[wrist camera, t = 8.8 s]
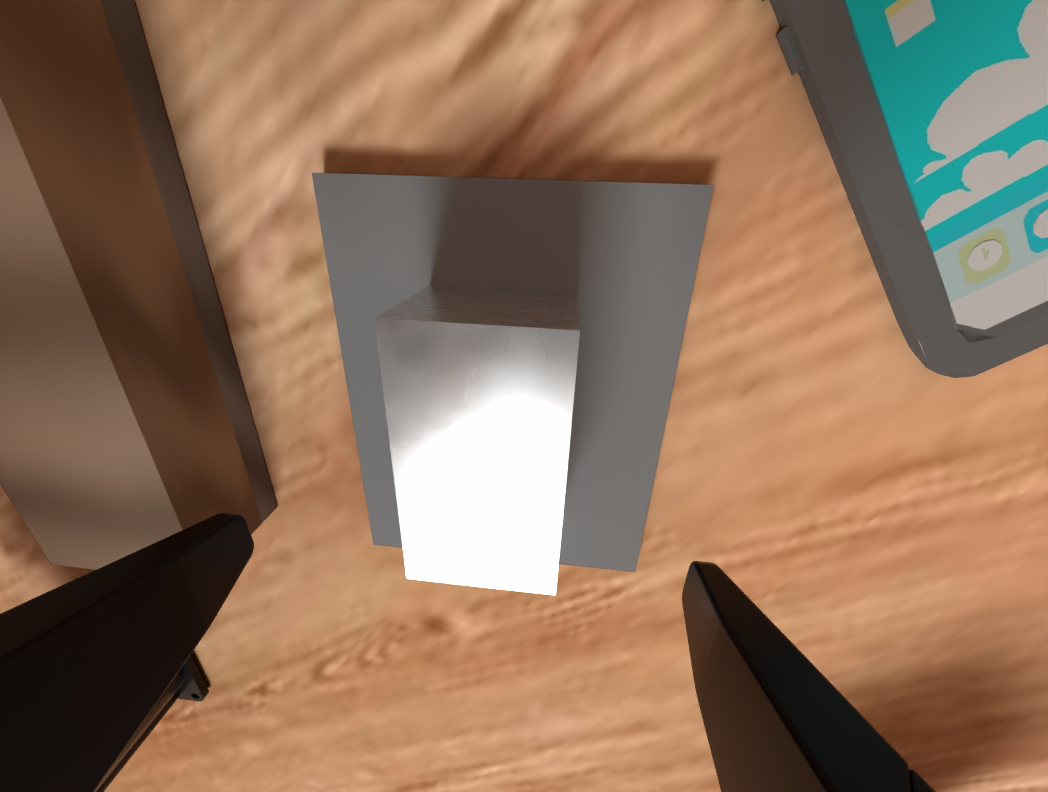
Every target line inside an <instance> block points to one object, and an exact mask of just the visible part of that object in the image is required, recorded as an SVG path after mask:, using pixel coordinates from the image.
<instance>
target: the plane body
mask: <svg viewBox="0 0 1048 792" xmlns="http://www.w3.org/2000/svg"><path fill="white" fill-rule="evenodd" d="M0 485H1V486H2V488H3V489H4V491H5V492H6V494H7V496H8V497H9V499H10V500H11V502H12V504H13V505H14V507H15V508H16V510H17V512H18V513H19V515H20V516H21V518H22V520H23V521H24V523H25V524H26V526H27V527H28V529H29V531H30V532H31V534H32V535H33V537H34V539H35V540H36V542H37V543H38V545H39V547H40V548H41V550H42V551H43V553H44V555H45V556H46V558H47V559H48V561H49V562H50V564H51V565H60V566H69V567H77V568H86V569H94V570H97V569H99V568H101V567H103V566H105V565H108V564H110V563H112V562H114V561H116V560H119V559H121V558H123V557H125V556H127V555H129V554H132V553H134V552H136V551H138V550H140V549H142V548H145V547H147V546H149V545H151V544H153V543H155V542H158V541H160V540H162V539H164V538H166V537H169V536H171V535H173V534H175V533H177V532H179V531H182V530H184V529H186V528H188V527H190V526H192V525H195V524H197V523H199V522H201V521H203V520H206V519H208V518H210V517H212V516H214V515H216V514H219V513H224V512H226V513H236V514H241V515H243V516H244V517H245V518H246V521H247V524H248V527H249V530H250V533H251V534H252V533H253V532H254V531H255V530H256V529H257V528H258V527H259V526H260V525H261V524H262V522H263V521H264V520H265V519H266V518H267V517H268V516H269V515H270V514H271V513H272V512H273V511H274V510H275V509H276V508H277V507H278V506H277V503H276V499H275V496H274V492H273V489H272V485H271V482H270V478H269V475H268V471H267V468H266V464H265V461H264V457H263V454H262V450H261V447H260V443H259V439H258V436H257V432H256V429H255V425H254V422H253V418H252V415H251V411H250V408H249V404H248V401H247V397H246V394H245V390H244V387H243V383H242V379H241V376H240V372H239V369H238V365H237V362H236V358H235V355H234V351H233V348H232V344H231V341H230V337H229V334H228V330H227V327H226V323H225V320H224V316H223V312H222V309H221V305H220V302H219V298H218V295H217V291H216V288H215V284H214V281H213V277H212V274H211V270H210V267H209V263H208V260H207V256H206V252H205V249H204V245H203V242H202V238H201V235H200V231H199V228H198V224H197V221H196V217H195V214H194V210H193V207H192V203H191V200H190V196H189V193H188V189H187V185H186V182H185V178H184V175H183V171H182V168H181V164H180V161H179V157H178V154H177V150H176V147H175V143H174V140H173V136H172V133H171V129H170V125H169V122H168V118H167V115H166V111H165V108H164V104H163V101H162V97H161V94H160V90H159V87H158V83H157V80H156V76H155V73H154V69H153V66H152V62H151V58H150V55H149V51H148V48H147V44H146V41H145V37H144V34H143V30H142V27H141V23H140V20H139V16H138V13H137V9H136V6H135V2H134V0H0Z"/></svg>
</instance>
